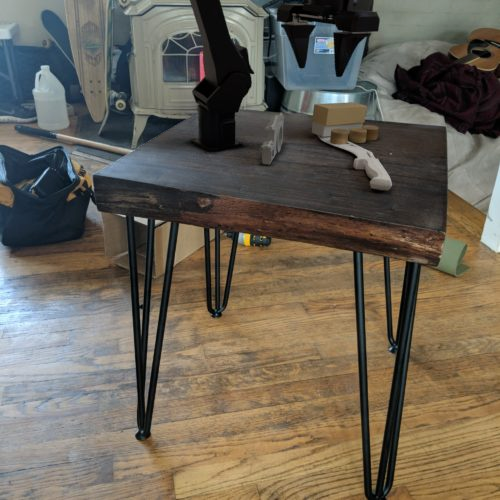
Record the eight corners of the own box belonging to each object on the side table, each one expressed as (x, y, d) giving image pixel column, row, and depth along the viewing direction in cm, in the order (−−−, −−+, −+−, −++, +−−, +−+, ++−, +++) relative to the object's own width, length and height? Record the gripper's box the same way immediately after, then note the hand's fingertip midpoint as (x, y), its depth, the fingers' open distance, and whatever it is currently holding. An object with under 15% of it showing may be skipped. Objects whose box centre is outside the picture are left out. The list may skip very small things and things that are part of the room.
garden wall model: (271, 166, 78) (273, 127, 76) (259, 165, 79) (261, 126, 76) (284, 143, 89) (286, 109, 86) (274, 142, 89) (275, 108, 86)
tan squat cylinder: (326, 141, 89) (327, 130, 88) (337, 138, 91) (339, 127, 90) (339, 145, 87) (340, 134, 86) (350, 142, 89) (352, 131, 88)
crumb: (356, 137, 93) (358, 126, 92) (368, 134, 95) (369, 124, 94) (369, 141, 91) (371, 130, 90) (380, 138, 93) (382, 127, 92)
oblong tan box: (310, 132, 93) (314, 104, 90) (348, 128, 98) (352, 102, 96) (324, 137, 90) (328, 108, 88) (362, 133, 96) (367, 106, 94)
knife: (316, 127, 96) (358, 127, 96) (315, 135, 96) (357, 136, 96) (337, 179, 69) (395, 180, 69) (335, 190, 70) (393, 191, 70)
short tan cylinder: (344, 139, 92) (346, 128, 91) (356, 137, 93) (357, 126, 92) (357, 144, 90) (358, 132, 89) (369, 141, 91) (370, 130, 90)
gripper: (411, -28, 79) (393, 78, 86) (325, -31, 92) (317, 61, 99) (360, -31, 73) (346, 83, 80) (277, -34, 86) (271, 65, 93)
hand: (319, 72), depth 88 cm, fingers open, 9 cm apart
